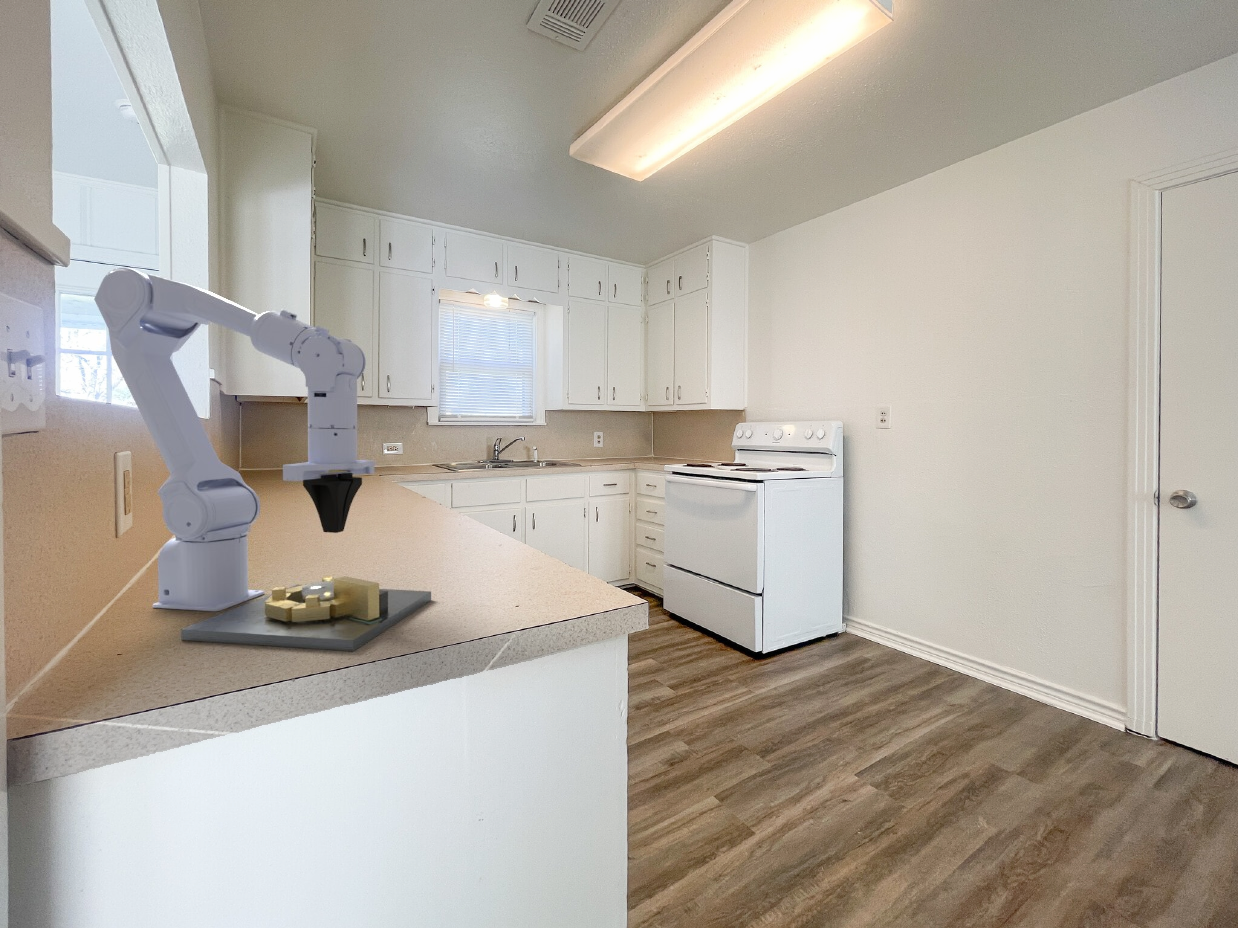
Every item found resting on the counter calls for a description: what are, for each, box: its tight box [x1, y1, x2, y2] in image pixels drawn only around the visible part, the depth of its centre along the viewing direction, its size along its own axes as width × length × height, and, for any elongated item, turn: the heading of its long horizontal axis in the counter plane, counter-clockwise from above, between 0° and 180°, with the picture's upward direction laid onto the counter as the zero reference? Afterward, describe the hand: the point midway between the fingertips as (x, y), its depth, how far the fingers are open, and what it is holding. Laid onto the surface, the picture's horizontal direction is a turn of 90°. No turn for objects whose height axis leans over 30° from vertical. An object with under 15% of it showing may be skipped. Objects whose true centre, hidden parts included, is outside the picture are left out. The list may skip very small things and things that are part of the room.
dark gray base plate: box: [180, 581, 432, 652], centre depth 66 cm, size 20×18×4 cm
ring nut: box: [265, 574, 380, 622], centre depth 65 cm, size 15×11×4 cm
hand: (333, 531), depth 71 cm, fingers closed
